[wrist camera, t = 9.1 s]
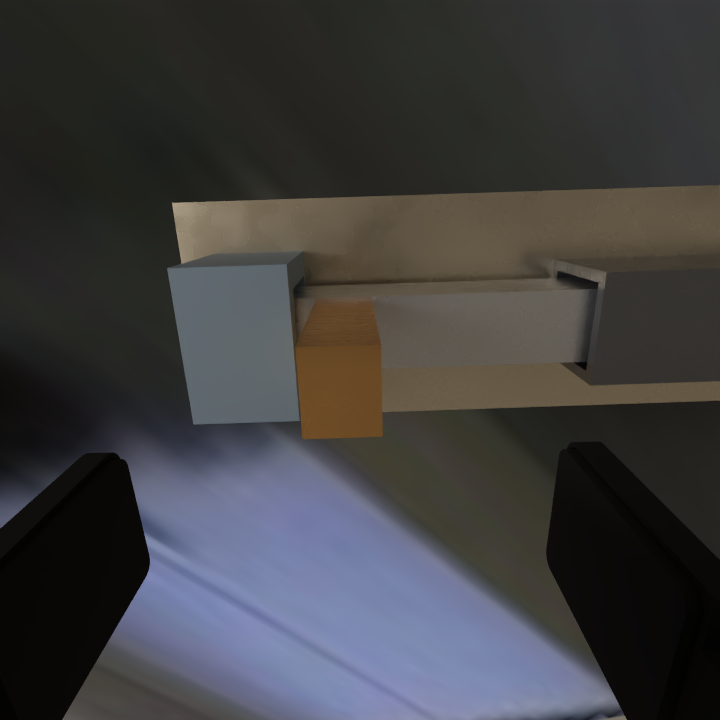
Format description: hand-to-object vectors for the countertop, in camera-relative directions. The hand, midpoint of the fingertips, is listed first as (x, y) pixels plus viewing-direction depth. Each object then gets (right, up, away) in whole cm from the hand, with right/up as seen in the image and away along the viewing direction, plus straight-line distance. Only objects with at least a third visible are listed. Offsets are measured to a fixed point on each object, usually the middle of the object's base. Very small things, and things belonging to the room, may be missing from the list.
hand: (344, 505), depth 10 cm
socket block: (-6, +6, +19) cm, 20 cm away
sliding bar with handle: (+5, +6, +18) cm, 19 cm away
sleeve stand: (+10, +7, +20) cm, 23 cm away
